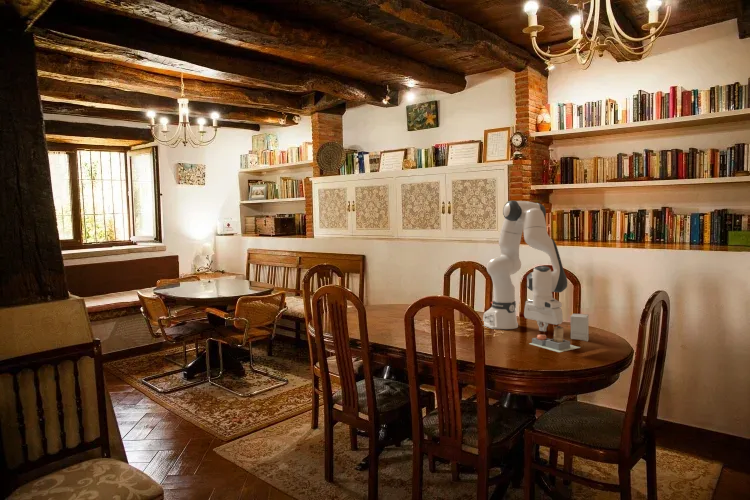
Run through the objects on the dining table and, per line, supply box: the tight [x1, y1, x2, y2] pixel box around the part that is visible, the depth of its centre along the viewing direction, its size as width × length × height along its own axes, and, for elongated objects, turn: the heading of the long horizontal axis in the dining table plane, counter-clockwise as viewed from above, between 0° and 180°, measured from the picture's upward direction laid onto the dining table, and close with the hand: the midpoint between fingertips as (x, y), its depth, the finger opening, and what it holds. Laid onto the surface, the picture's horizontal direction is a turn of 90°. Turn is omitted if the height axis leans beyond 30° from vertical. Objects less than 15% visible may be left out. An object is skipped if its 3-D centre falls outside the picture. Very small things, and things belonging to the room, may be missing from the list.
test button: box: [536, 334, 547, 341], centre depth 244 cm, size 4×4×2 cm
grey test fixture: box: [528, 337, 581, 353], centre depth 240 cm, size 18×14×4 cm
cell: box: [553, 325, 564, 343], centre depth 237 cm, size 4×4×10 cm
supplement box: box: [570, 313, 590, 342], centre depth 253 cm, size 7×7×13 cm
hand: (542, 330), depth 243 cm, fingers closed
